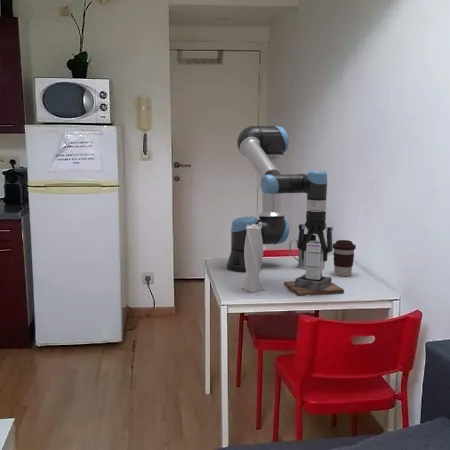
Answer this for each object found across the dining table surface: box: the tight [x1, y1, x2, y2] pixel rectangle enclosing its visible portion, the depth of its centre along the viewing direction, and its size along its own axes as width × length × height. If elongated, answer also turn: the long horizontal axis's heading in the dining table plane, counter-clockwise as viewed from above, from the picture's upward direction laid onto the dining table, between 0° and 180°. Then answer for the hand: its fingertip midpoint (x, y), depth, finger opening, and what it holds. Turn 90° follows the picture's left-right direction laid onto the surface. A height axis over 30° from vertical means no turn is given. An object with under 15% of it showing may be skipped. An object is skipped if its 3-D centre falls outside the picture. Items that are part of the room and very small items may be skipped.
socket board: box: [283, 273, 345, 297], centre depth 228 cm, size 16×19×4 cm
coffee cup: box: [332, 239, 357, 277], centre depth 252 cm, size 10×10×15 cm
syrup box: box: [305, 240, 323, 280], centre depth 226 cm, size 6×6×14 cm
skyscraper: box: [241, 222, 266, 293], centre depth 224 cm, size 8×8×28 cm
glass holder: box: [288, 233, 317, 270], centre depth 264 cm, size 9×14×15 cm, turn 117°
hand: (314, 267), depth 227 cm, fingers closed on syrup box, 6 cm apart
